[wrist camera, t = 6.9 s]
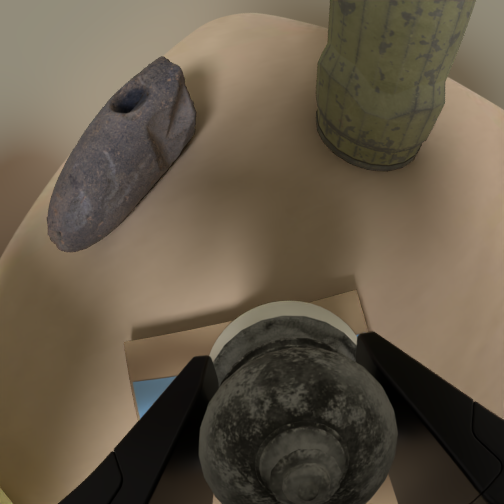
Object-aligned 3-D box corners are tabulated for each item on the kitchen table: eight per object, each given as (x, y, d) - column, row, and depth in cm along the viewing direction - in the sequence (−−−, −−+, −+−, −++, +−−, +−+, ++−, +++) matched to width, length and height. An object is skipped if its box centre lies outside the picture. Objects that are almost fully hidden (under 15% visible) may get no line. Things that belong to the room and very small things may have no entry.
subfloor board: (403, 557, 11) (408, 564, 10) (204, 592, 12) (201, 600, 11) (350, 285, 19) (353, 280, 18) (129, 335, 19) (121, 333, 18)
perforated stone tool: (101, 281, 20) (38, 245, 14) (62, 244, 22) (4, 204, 15) (224, 124, 24) (207, 56, 17) (176, 106, 25) (152, 45, 19)
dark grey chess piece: (361, 336, 14) (560, 228, 3) (338, 458, 12) (457, 632, 1) (236, 317, 15) (98, 156, 3) (212, 437, 13) (31, 570, 2)
